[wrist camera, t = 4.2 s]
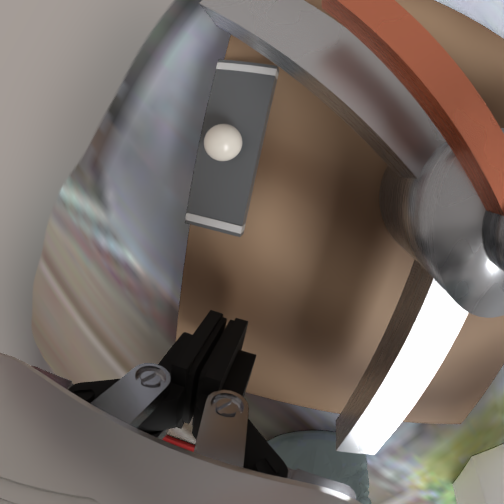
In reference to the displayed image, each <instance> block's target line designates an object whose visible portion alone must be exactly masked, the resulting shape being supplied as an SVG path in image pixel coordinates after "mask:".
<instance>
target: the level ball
mask: <svg viewBox="0 0 504 504" xmlns="http://www.w3.org/2000/svg"><path fill="white" fill-rule="evenodd" d="M242 143H243V141H242V136H241V134H240V132H239V131H238V130H237V129H236V128H235V127H234V126H232V125H229V124H218V125H215V126H213V127H212V128H211V129H209V130H208V132H207V133H206V135H205V138H204V148H205V151H206V152H207V154H208V155H209V156H210V157H211V158H213V159H215V160H218V161H228V160H231V159H233V158H234V157H236V156H237V155H238V154H239V152H240V151H241V148H242Z"/></svg>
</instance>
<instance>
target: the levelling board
mask: <svg viewBox="0 0 504 504" xmlns="http://www.w3.org/2000/svg"><path fill="white" fill-rule="evenodd" d="M304 1H306V2H308V3H309V4H311V5H313V6H314V7H316V8H317V9H319V10H320V11H322V12H324V13H325V14H327V15H328V16H330V17H331V18H333V19H334V20H335V21H337V20H336V19H335V18H334V17H332V16H331V15H330V14H329V13H327V12H326V11H325V10H324V9H322V0H304ZM395 1H396V2H397V3H399V4H400V5H401V6H402V7H403V8H404V9H405V10H406V11H408V12H409V13H410V14H411V15H412V16H413V17H414V18H415V19H416V20H417V21H418V22H419V23H420V24H421V25H422V26H423V27H424V28H425V29H426V30H427V31H428V32H429V33H430V34H431V35H432V36H433V37H434V38H435V39H436V41H437V42H438V43H439V44H440V45H441V46H442V47H443V48H444V49H445V51H446V52H447V53H448V54H449V55H450V56H451V58H452V59H453V60H454V61H455V62H456V64H457V65H458V66H459V67H460V69H461V70H462V71H463V73H464V74H465V75H466V77H467V78H468V79H469V81H470V82H471V83H472V85H473V86H474V87H475V89H476V90H477V92H478V93H479V95H480V96H481V98H482V99H483V101H484V102H485V104H486V105H487V107H488V108H489V110H490V111H491V113H492V115H493V116H494V118H495V120H496V121H497V123H498V125H499V126H500V128H504V39H503V38H502V37H500V36H499V35H497V34H496V33H494V32H492V31H491V30H489V29H488V28H486V27H484V26H483V25H481V24H479V23H478V22H476V21H474V20H472V19H471V18H469V17H467V16H465V15H463V14H461V13H459V12H457V11H455V10H454V9H451V8H449V7H447V6H445V5H443V4H441V3H439V2H437V1H434V0H395ZM337 22H338V21H337ZM338 23H340V22H338ZM340 24H341V23H340ZM341 25H342V24H341ZM345 28H346V27H345ZM224 60H233V61H244V62H253V63H261V64H268V65H275V66H277V65H276V64H274V63H273V62H272V61H270V60H269V59H267V58H266V57H265V56H263V55H262V54H260V53H259V52H257V51H256V50H254V49H253V48H251V47H250V46H248V45H247V44H245V43H244V42H242V41H241V40H239V39H238V38H236V37H234V36H233V35H231V36H230V40H229V44H228V47H227V51H226V55H225V58H224ZM278 69H279V74H278V79H277V83H276V87H275V92H274V96H273V101H272V105H271V109H270V114H269V118H268V123H267V127H266V132H265V136H264V141H263V145H262V150H261V155H260V159H259V164H258V168H257V173H256V177H255V182H254V187H253V191H252V196H251V201H250V205H249V210H248V215H247V220H246V224H245V229H244V234H243V235H242V236H241V237H237V236H233V235H230V234H226V233H222V232H218V231H214V230H210V229H206V228H202V227H199V226H195V225H191V224H190V228H189V235H188V241H187V248H186V255H185V263H184V270H183V278H182V286H181V295H180V304H179V313H178V323H177V333H176V341H177V340H178V338H179V337H180V336H181V335H182V334H183V333H184V332H187V333H189V334H192V335H193V334H194V332H195V331H196V329H197V328H198V327H199V325H200V324H201V322H202V321H203V320H204V318H205V317H206V316H207V314H208V313H209V311H210V310H213V311H216V312H219V313H222V314H223V317H224V318H227V322H226V326H227V324H228V322H229V321H230V319H231V320H235V318H239V319H242V320H246V321H248V326H247V330H246V334H245V338H244V342H243V346H242V351H245V352H249V353H252V354H256V359H255V362H254V366H253V369H252V372H251V376H250V379H249V382H248V385H247V388H246V391H245V392H247V393H250V394H254V395H258V396H261V397H265V398H269V399H273V400H277V401H281V402H285V403H289V404H293V405H298V406H302V407H307V408H312V409H317V410H322V411H327V412H333V413H338V414H341V412H342V410H343V409H344V407H345V405H346V404H347V402H348V400H349V399H350V397H351V395H352V394H353V392H354V390H355V388H356V387H357V385H358V383H359V381H360V380H361V378H362V376H363V374H364V372H365V370H366V369H367V367H368V365H369V363H370V361H371V359H372V357H373V355H374V353H375V351H376V349H377V347H378V345H379V343H380V341H381V339H382V337H383V335H384V333H385V330H386V328H387V326H388V324H389V322H390V319H391V317H392V315H393V313H394V310H395V308H396V306H397V303H398V301H399V299H400V296H401V294H402V291H403V289H404V286H405V284H406V281H407V278H408V276H409V273H410V270H411V268H412V265H413V262H414V258H413V257H412V256H411V255H410V254H409V253H407V252H406V251H405V250H404V249H403V248H402V247H401V246H400V245H399V244H398V243H397V242H396V241H395V240H394V239H393V237H392V236H391V235H390V233H389V232H388V230H387V228H386V226H385V224H384V222H383V219H382V215H381V211H380V204H379V192H380V185H381V181H382V177H383V174H384V172H385V170H386V168H387V166H388V164H387V163H386V162H385V161H384V160H383V159H382V158H381V157H380V156H379V155H378V154H377V153H376V152H375V151H374V150H373V149H372V148H371V147H370V145H369V144H368V143H367V142H366V141H365V140H364V139H363V138H362V137H361V136H360V135H358V134H357V133H356V132H355V131H354V130H353V129H352V128H351V127H350V126H349V125H348V124H347V123H346V122H345V121H344V120H343V119H342V118H341V117H339V116H338V115H337V114H336V113H335V112H334V111H333V110H332V109H331V108H329V107H328V106H327V105H326V104H325V103H324V102H323V101H321V100H320V99H319V98H318V97H317V96H315V95H314V94H313V93H312V92H311V91H309V90H308V89H307V88H306V87H305V86H303V85H302V84H301V83H300V82H298V81H297V80H296V79H294V78H293V77H292V76H291V75H289V74H288V73H287V72H285V71H284V70H283V69H281V68H280V67H279V66H278ZM225 328H226V327H225ZM503 364H504V315H503V316H499V317H493V318H485V317H479V316H476V315H473V314H470V313H469V312H468V314H467V317H466V319H465V321H464V323H463V325H462V327H461V329H460V331H459V333H458V335H457V337H456V338H455V340H454V342H453V344H452V346H451V348H450V349H449V351H448V353H447V355H446V356H445V358H444V360H443V362H442V363H441V365H440V367H439V368H438V370H437V372H436V373H435V375H434V376H433V378H432V380H431V381H430V383H429V384H428V386H427V387H426V389H425V390H424V392H423V393H422V395H421V396H420V398H419V399H418V400H417V402H416V403H415V405H414V406H413V407H412V409H411V410H410V411H409V413H408V414H407V416H406V417H405V418H404V419H403V421H402V422H413V423H431V424H461V423H462V422H463V421H464V419H465V418H466V417H467V416H468V414H469V413H470V412H471V411H472V409H473V408H474V407H475V405H476V404H477V403H478V401H479V400H480V399H481V397H482V396H483V394H484V393H485V392H486V390H487V389H488V387H489V386H490V384H491V383H492V381H493V380H494V378H495V377H496V375H497V374H498V372H499V371H500V369H501V367H502V366H503Z"/></svg>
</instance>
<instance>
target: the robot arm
mask: <svg viewBox="0 0 504 504" xmlns="http://www.w3.org/2000/svg"><path fill="white" fill-rule="evenodd" d="M226 322H227V318H224V317H223V314H222V313H219V312H216V311H213V310H210V311H209V313H208V314H207V316H206V317H205V318H204V320H203V321H202V322H201V324H200V325H199V327H198V328H197V329H196V331H195V332H194V334H193V335H192V334H189V333H187V332H184V333H183V334H182V335H181V336H180V337H179V338H178V340H177V341H176V342H175V344H174V345H173V346H172V347H171V349H170V350H169V351H168V352H167V354H166V355H165V356H164V358H163V359H162V360H161V361H160V363H159V364H153V363H144V364H140V365H138V366H136V367H135V368H133V369H132V370H131V371H130V372H128V373H127V374H126V375H125V376H124V377H122V378H121V379H114V380H105V381H95V382H84V383H78V384H75V385H74V384H73V383H72V381H70V380H68V379H65V378H62V377H60V376H57V375H55V374H52V373H50V372H47V371H45V370H43V369H40V368H38V367H35V366H30V365H28V364H26V363H25V362H23V361H21V360H19V359H17V358H15V357H12V356H9V355H6V354H2V353H0V504H362V503H360V502H358V501H357V500H356V495H355V492H354V490H353V489H352V488H351V487H350V486H347V485H345V484H343V483H339V482H336V481H333V480H330V479H327V478H323V477H320V476H318V475H315V474H312V473H309V472H306V471H303V470H301V469H298V468H297V469H296V470H294V469H291V468H288V467H287V465H286V464H285V462H284V461H283V460H282V459H281V457H280V456H279V455H278V454H277V453H276V452H275V451H274V449H273V448H272V447H271V446H270V445H269V444H268V442H267V441H266V440H265V439H264V438H263V436H262V435H261V434H260V433H259V431H258V430H257V429H256V428H255V427H254V425H253V424H252V423H251V422H250V420H249V419H248V411H249V407H248V403H247V401H246V399H245V398H244V394H245V391H246V388H247V385H248V382H249V379H250V376H251V372H252V369H253V366H254V362H255V359H256V354H252V353H249V352H245V351H242V346H243V342H244V338H245V334H246V330H247V326H248V321H246V320H242V319H239V318H235V320H231V319H230V321H229V322H228V324H227V326H226ZM225 327H226V328H225ZM192 417H193V423H192V425H193V430H192V434H193V436H194V437H195V439H196V444H195V448H194V452H192V451H189V450H186V449H184V448H181V447H179V446H176V445H173V444H171V443H169V442H166V441H164V440H162V439H163V438H164V437H165V436H166V434H167V433H168V429H171V428H175V427H178V428H182V426H183V424H184V422H185V423H188V424H189V423H190V421H191V419H192Z"/></svg>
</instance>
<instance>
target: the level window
mask: <svg viewBox="0 0 504 504" xmlns="http://www.w3.org/2000/svg"><path fill="white" fill-rule="evenodd" d="M278 74H279V69H278V66H275V65H268V64H261V63H253V62H244V61H233V60H221V59H219V60H218V62H217V66H216V72H215V76H214V80H213V84H212V88H211V92H210V96H209V100H208V105H207V109H206V113H205V118H204V122H203V127H202V132H201V137H200V141H199V146H198V151H197V157H196V162H195V167H194V172H193V178H192V184H191V189H190V195H189V201H188V207H187V213H186V218H185V223H187V224H191V225H195V226H199V227H202V228H206V229H210V230H214V231H218V232H222V233H226V234H230V235H233V236H237V237H241V236H242V235H243V234H244V229H245V224H246V220H247V215H248V210H249V205H250V201H251V196H252V191H253V187H254V182H255V177H256V173H257V168H258V164H259V159H260V155H261V150H262V145H263V141H264V136H265V132H266V127H267V123H268V118H269V114H270V109H271V105H272V101H273V96H274V92H275V87H276V83H277V79H278ZM218 124H229V125H232V126H234V127H235V128H236V129H237V130H238V131H239V132H240V134H241V136H242V141H243V143H242V148H241V151H240V152H239V154H238V155H237V156H236V157H234V158H233V159H231V160H228V161H218V160H215V159H213V158H211V157H210V156H209V155H208V154H207V152H206V151H205V148H204V138H205V135H206V133H207V132H208V130H209V129H211V128H212V127H213V126H215V125H218Z"/></svg>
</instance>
